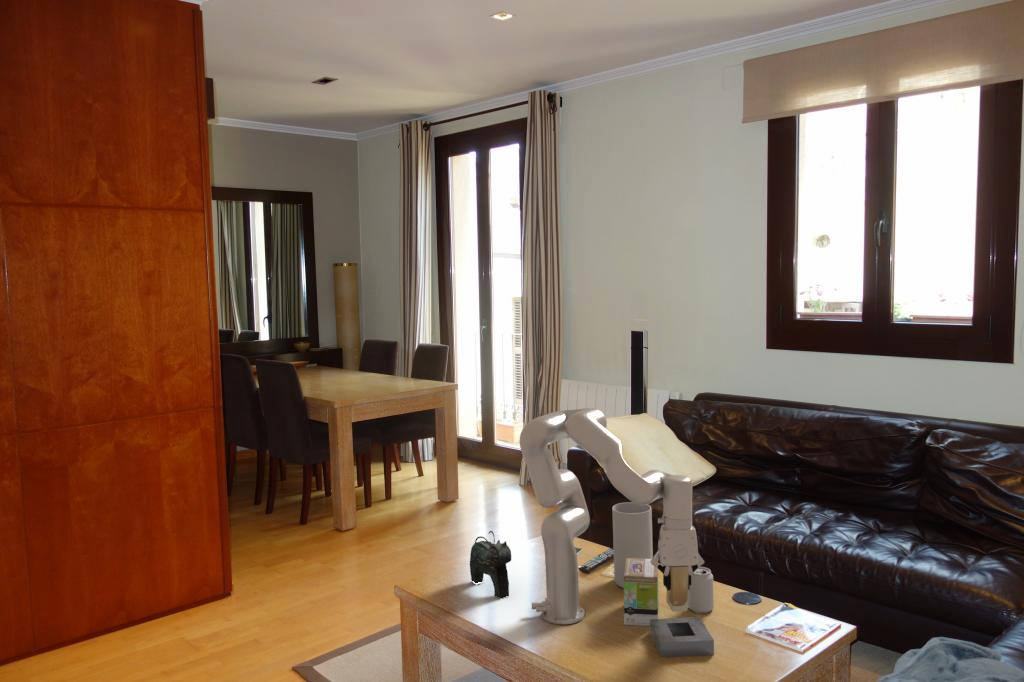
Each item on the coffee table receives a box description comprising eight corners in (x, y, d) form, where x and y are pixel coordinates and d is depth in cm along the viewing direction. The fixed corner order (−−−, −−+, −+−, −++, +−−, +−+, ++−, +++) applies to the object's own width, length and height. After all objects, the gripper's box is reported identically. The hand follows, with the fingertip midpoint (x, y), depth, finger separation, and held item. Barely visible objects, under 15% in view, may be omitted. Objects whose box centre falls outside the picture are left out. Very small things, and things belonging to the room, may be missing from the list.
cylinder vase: (659, 579, 256) (657, 505, 254) (644, 593, 246) (642, 515, 244) (624, 573, 263) (622, 500, 261) (608, 586, 253) (605, 510, 251)
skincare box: (665, 602, 215) (666, 558, 213) (681, 601, 215) (681, 558, 214) (672, 612, 208) (672, 568, 207) (688, 611, 209) (688, 567, 207)
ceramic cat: (515, 597, 247) (512, 535, 246) (497, 602, 244) (495, 540, 242) (481, 578, 264) (479, 520, 262) (465, 583, 260) (462, 524, 258)
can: (714, 615, 229) (713, 575, 228) (688, 613, 230) (687, 574, 229) (713, 604, 236) (712, 565, 235) (687, 603, 237) (686, 564, 237)
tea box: (659, 627, 222) (658, 576, 221) (623, 625, 224) (622, 575, 223) (659, 605, 237) (658, 557, 236) (625, 603, 239) (624, 556, 238)
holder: (660, 657, 205) (660, 642, 204) (650, 633, 219) (649, 619, 218) (714, 654, 205) (713, 640, 205) (699, 630, 219) (699, 616, 219)
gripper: (648, 527, 205) (648, 594, 207) (713, 526, 206) (712, 593, 208) (643, 518, 213) (643, 583, 215) (705, 517, 213) (704, 581, 215)
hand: (677, 587), depth 211 cm, fingers closed on skincare box, 4 cm apart
